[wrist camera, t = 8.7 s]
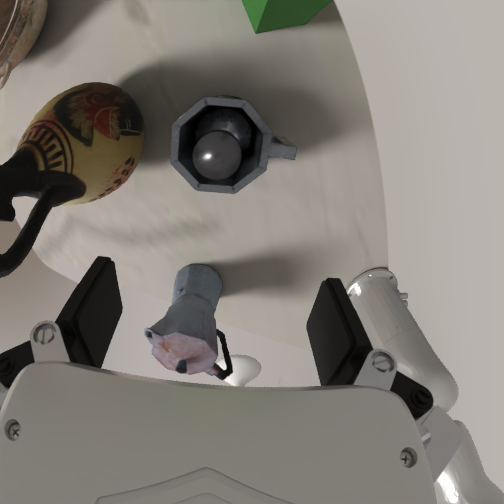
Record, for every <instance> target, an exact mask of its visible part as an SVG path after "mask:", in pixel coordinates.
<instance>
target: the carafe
mask: <svg viewBox="0 0 504 504" xmlns="http://www.w3.org/2000/svg"><path fill="white" fill-rule="evenodd" d="M218 109H230V110H233V111H236V112H238V113H239V114H241V115H242V116H243V117H244V118H245V119H246V121H247V122H248V124H249V127H250V130H251V140H250V143H249V146H248V148H247V149H246V151H245V152H244V153H243V154H242V155H241V161H240V165H239V167H238V168H237V170H236V171H235V172H234V173H233V174H232V175H230V176H229V177H227V178H224V179H219V180H214V179H209V178H207V177H205V176H203V175H201V174H200V173H199V172H198V171H197V169H196V168H195V166H194V163H193V150H194V148H195V146H196V144H197V143H196V129H197V126H198V124H199V122H200V121H201V120H202V118H203V117H204V116H206V115H207V114H208V113H210V112H212V111H215V110H218ZM296 151H297V147H296V146H294V145H293V144H292V143H291V142H289V141H288V140H287V139H286V138H284V137H280V136H273V135H272V131H271V130H270V128H269V127H268V126H267V125H266V123H265V122H264V121H263V120H262V118H261V117H260V115H259V114H258V112H257V111H256V110H255V108H254V107H253V106H252V105H250V104H249V102H248V101H246V100H243V99H240V98H237V97H234V96H224V95H223V96H216V97H203V98H202V99H201V100H200V101H198V102H197V103H196V104H195V105H194V106H192V107H191V108H190V109H189V110H188V111H186V112H185V113H184V114H183V115H182V116H181V117H179V118H178V119H177V120H176V121H175V122H174V123H173V125H172V135H171V153H170V162H171V164H172V165H173V167H174V168H175V169H176V170H177V171H178V172H179V173H180V174H181V175H182V176H183V177H184V178H185V179H186V181H187V182H188V183H189V184H190V185H191V186H192V187H193V188H194V189H195V190H197V191H205V192H218V193H230V194H234V192H235V194H236V193H237V192H238V191H240V190H241V189H242V188H244V187H245V186H246V185H248V184H249V183H250V182H252V181H253V180H254V179H256V178H257V177H258V176H260V175H261V174H262V173H264V172H265V171H266V170H267V163H268V157H277V158H284V159H291V160H295V157H296Z"/></svg>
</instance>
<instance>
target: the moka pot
mask: <svg viewBox="0 0 504 504" xmlns="http://www.w3.org/2000/svg"><path fill="white" fill-rule="evenodd" d="M222 288H223V285H222V281H221V278H220V276H219V274H218V273H217V272H216V271H214V270H213V269H211V268H210V267H209V266H205V265H201V264H191V265H188V266H186V267H184V268H182V269H181V270H180V271H179V272H178V274H177V277H176V280H175V285H174V292H173V299H172V305H171V306H170V307H169V309H168V311H167V313H166V315H165V317H164V318H163V319H161V320H160V321H158V322H157V323H156V324H155V325H153V326H152V327H151V328H145V329H144V334H145V336H146V337H147V339H148V340H149V342H150V343H151V344H152V345H153V348H152V355H153V356H154V357H155V358H156V359H157V360H158V361H159V362H160V363H161V364H162V365H163V366H164V367H165V368H167V369H169V370H173V371H177V372H179V373H185V374H189V375H191V374H195V373H200V372H205V373H207V374H209V375H211V376H213V375H215V376H217V377H218V378H219V379H221V380H225V379H226V377H227V376H228V377H229V376H230V374H232V373H233V365H232V362H231V358H230V355H229V352H228V348H227V344H226V339H225V335H224V334H223V332H221V331H219V330H218V329H216V320H215V318H214V313H215V310H216V307H217V303H218V301H219V297H220V294H221V291H222ZM217 336H218V337H219V338H220V342H221V344H222V350H223V353H224V360H225V363H226V368H227V369H226V370H223V369H222V368H221V367H220V366H219V365H218V364H216V363H215V361H216V359H217V357H218V345H217Z"/></svg>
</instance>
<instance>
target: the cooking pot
mask: <svg viewBox="0 0 504 504" xmlns="http://www.w3.org/2000/svg"><path fill="white" fill-rule="evenodd" d="M47 9H48V0H0V78H1V77H3V76H4V78H3V80H2V81H1V83H0V89H1V88H2V87H3V86H4V85H5V83H6V81H7V79H8V77H9V75H10V73H11V71H12V70H13V69H14V68H15V67H16V66H17V65H18V64H19V63H20V62H21V61H22V60H23V59H24V57H25V56H26V55H27V54H28V52H29V51H30V49H31V48H32V47H33V45H34V43H35V42H36V40H37V38H38V36H39V34H40V32H41V29H42V27H43V25H44V22H45V18H46V14H47Z"/></svg>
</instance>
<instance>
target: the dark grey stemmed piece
mask: <svg viewBox="0 0 504 504" xmlns="http://www.w3.org/2000/svg"><path fill="white" fill-rule="evenodd" d="M250 140H251V130H250V127H249V124H248V122H247V121H246V119H245V118H244V117H243V116H242V115H241V114H239V113H238V112H236V111H233V110H230V109H218V110H215V111H212V112H210V113H208V114H207V115H206V116H204V117H203V118H202V120H201V121H200V122H199V124H198V126H197V129H196V143H197V144H196V146H195V148H194V150H193V163H194V166H195V168H196V169H197V171H198V172H199V173H200V174H201V175H203V176H205V177H207V178H209V179H214V180H219V179H224V178H227V177H229V176H230V175H232V174H233V173H234V172H235V171H236V170H237V168H238V167H239V165H240V161H241V155H242V154H243V153H244V152H245V151H246V149H247V148H248V146H249V143H250Z"/></svg>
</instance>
